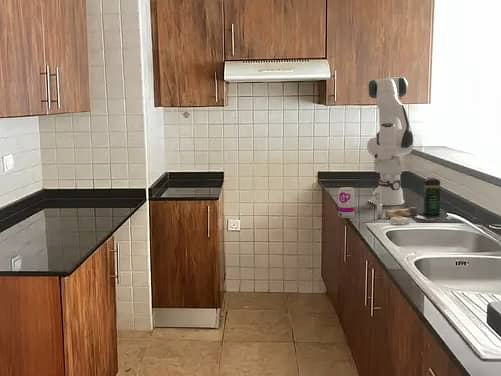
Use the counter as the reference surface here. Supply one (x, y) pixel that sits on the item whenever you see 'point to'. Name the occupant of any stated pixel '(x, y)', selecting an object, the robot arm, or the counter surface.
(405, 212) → the oak leg
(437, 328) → the counter surface
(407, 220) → the socket
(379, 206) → the locking pin
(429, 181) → the coffee jar
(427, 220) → the hinge plate
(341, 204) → the supplement can
